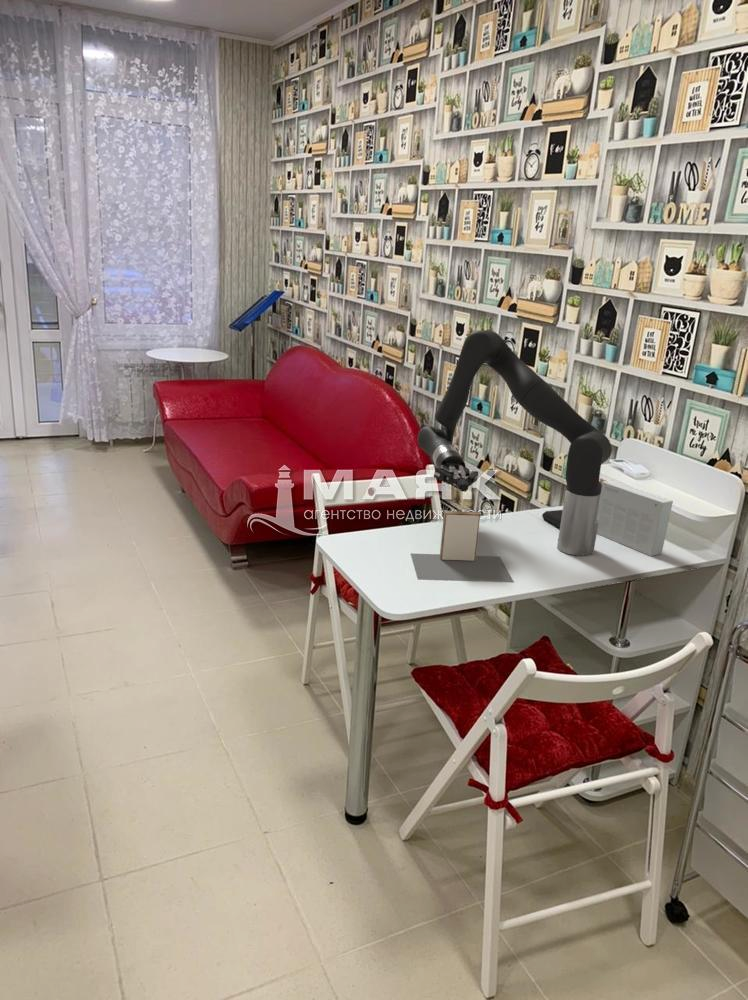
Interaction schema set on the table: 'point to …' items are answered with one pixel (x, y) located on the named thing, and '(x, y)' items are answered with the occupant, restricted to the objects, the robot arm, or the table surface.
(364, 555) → the table surface
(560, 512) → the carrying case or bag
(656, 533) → the skincare box
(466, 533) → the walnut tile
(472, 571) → the charcoal mat
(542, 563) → the table surface
